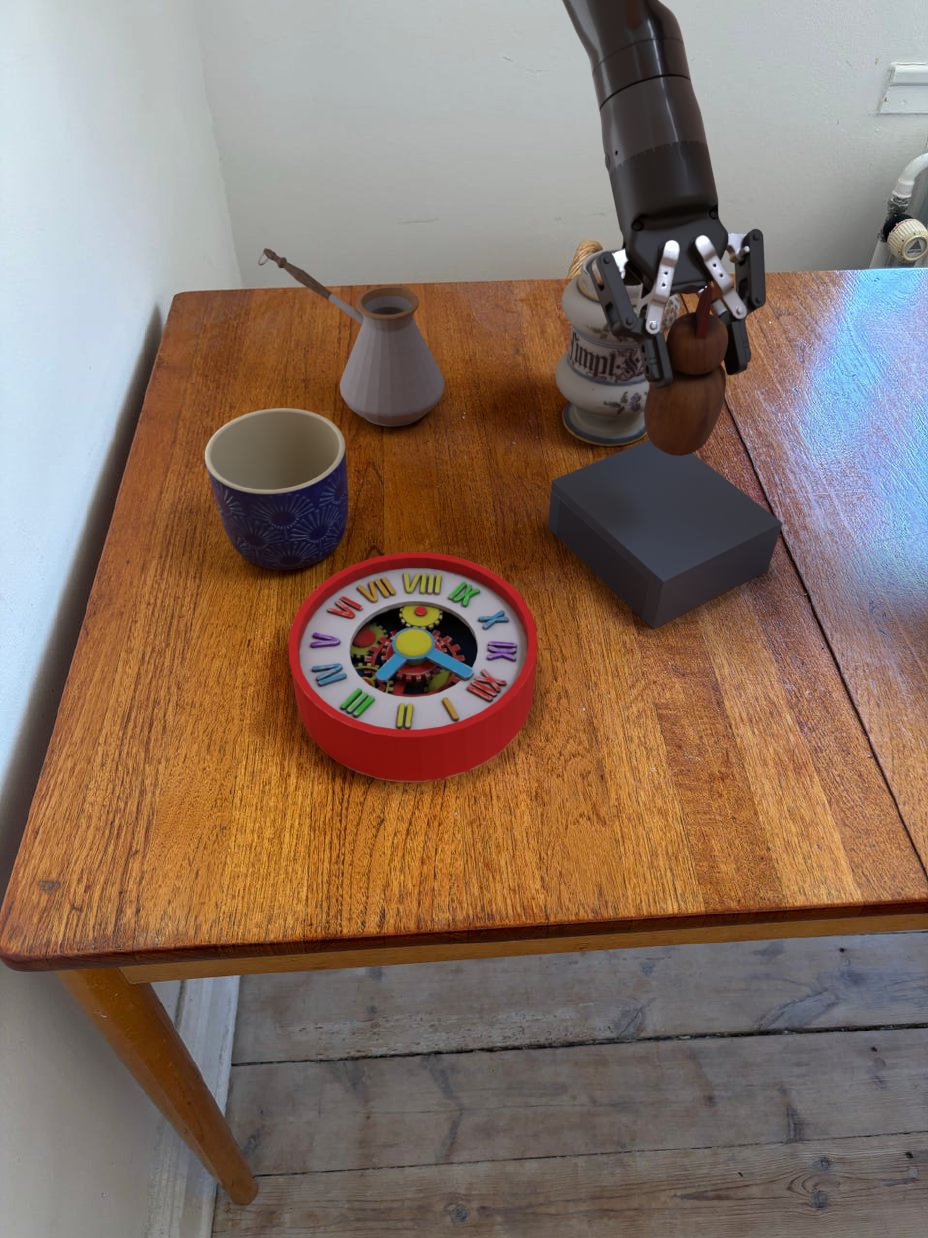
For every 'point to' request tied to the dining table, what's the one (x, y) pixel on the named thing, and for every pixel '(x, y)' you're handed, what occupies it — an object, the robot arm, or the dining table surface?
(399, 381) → the coffee pot
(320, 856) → the dining table surface
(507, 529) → the dining table surface
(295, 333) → the dining table surface
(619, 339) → the apothecary jar
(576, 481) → the grey display pedestal
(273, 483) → the planter
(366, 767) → the toy clock
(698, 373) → the wooden figurine
